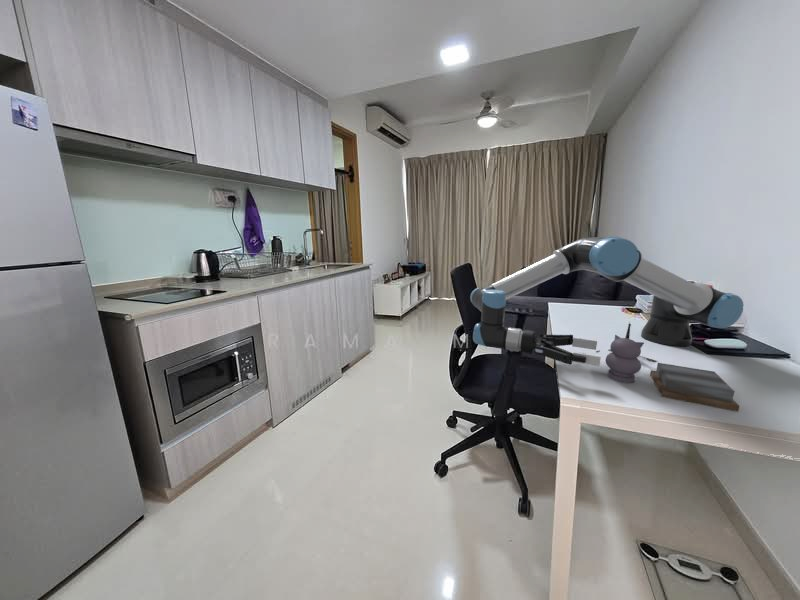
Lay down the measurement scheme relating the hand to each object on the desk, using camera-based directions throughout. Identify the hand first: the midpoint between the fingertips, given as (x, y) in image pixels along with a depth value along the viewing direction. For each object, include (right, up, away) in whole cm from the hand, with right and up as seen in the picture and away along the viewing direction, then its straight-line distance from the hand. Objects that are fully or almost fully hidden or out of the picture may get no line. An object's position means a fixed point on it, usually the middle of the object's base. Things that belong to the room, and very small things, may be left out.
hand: (598, 352), depth 90 cm
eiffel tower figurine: (+19, -4, +14) cm, 24 cm away
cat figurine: (+6, -7, -1) cm, 9 cm away
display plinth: (+19, -9, -9) cm, 22 cm away
